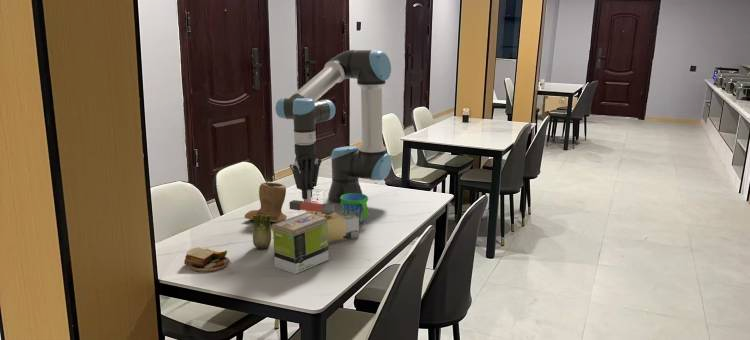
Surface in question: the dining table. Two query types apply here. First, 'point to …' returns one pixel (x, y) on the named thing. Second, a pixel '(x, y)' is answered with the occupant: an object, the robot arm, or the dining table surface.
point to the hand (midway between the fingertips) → (307, 206)
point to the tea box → (300, 242)
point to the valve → (341, 227)
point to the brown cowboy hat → (270, 202)
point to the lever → (312, 207)
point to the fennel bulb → (261, 232)
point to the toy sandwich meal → (206, 259)
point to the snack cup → (355, 205)
